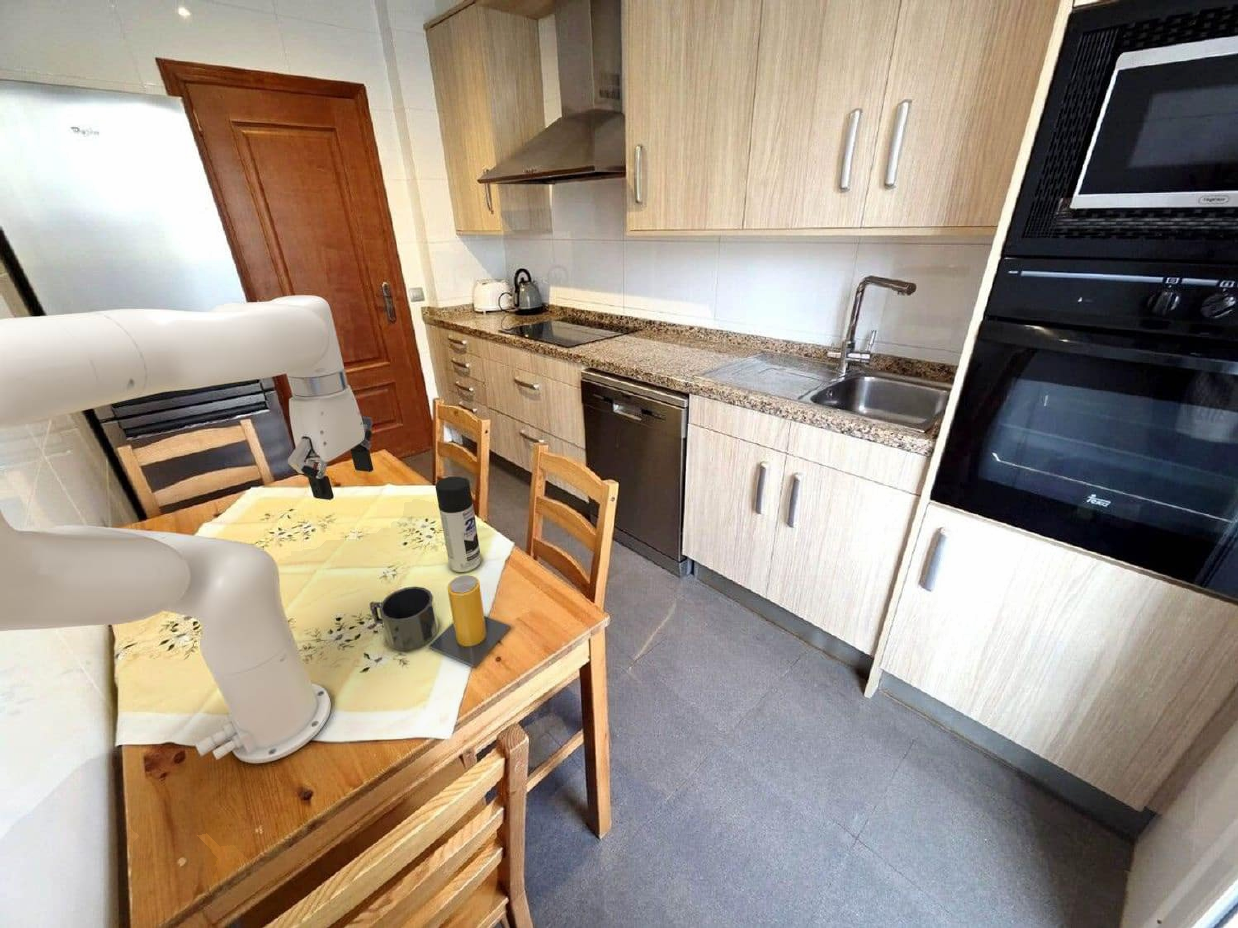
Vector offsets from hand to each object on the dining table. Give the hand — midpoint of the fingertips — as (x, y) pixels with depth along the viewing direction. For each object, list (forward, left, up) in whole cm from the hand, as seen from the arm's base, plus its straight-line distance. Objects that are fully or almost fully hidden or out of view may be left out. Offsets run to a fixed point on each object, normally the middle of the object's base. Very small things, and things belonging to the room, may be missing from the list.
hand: (345, 483), depth 82 cm
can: (+8, -18, -28) cm, 34 cm away
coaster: (+8, -18, -28) cm, 34 cm away
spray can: (+20, +1, -28) cm, 34 cm away
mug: (+1, -8, -28) cm, 29 cm away
